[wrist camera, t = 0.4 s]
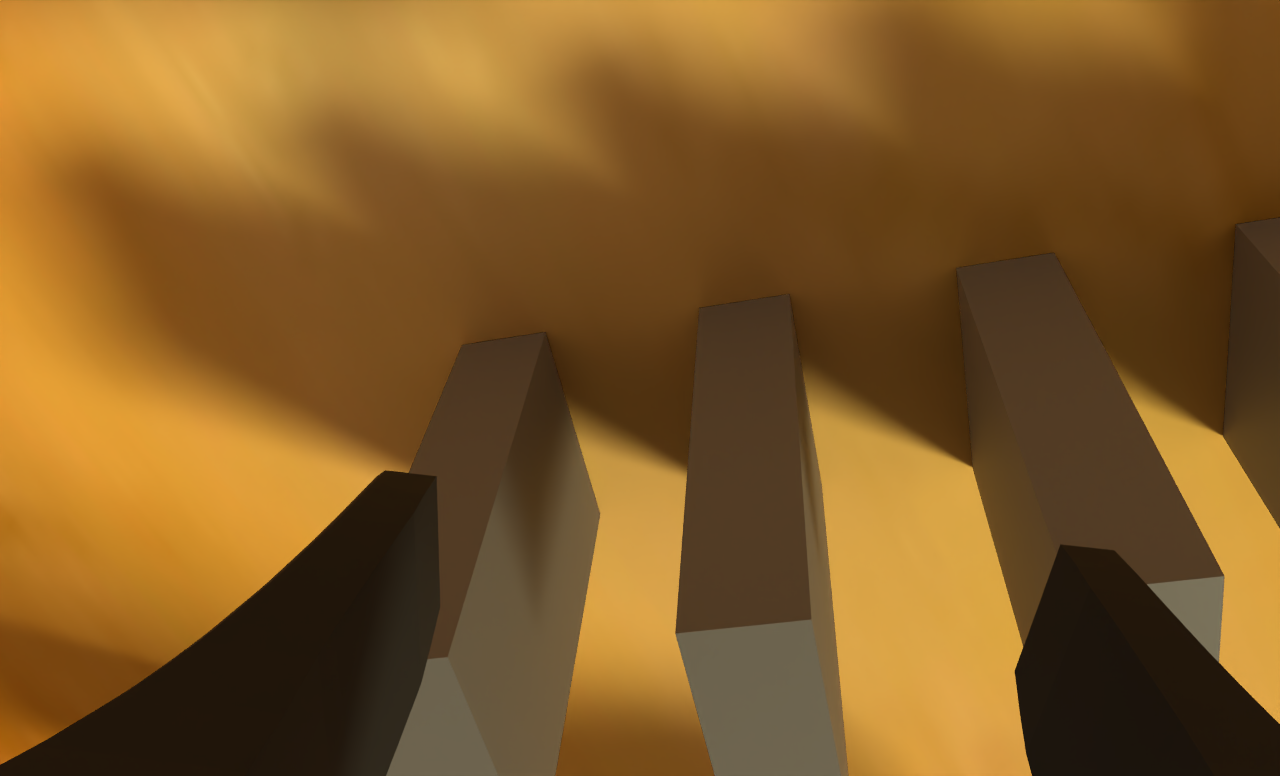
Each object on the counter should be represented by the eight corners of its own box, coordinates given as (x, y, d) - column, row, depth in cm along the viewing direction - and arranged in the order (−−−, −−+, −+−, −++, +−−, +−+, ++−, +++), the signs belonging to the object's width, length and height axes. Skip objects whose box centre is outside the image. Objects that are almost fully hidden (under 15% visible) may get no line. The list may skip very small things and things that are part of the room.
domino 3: (1054, 252, 21) (1224, 576, 14) (1060, 457, 24) (1207, 826, 16) (956, 267, 22) (1070, 592, 14) (972, 467, 24) (1076, 835, 17)
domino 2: (789, 294, 22) (811, 619, 15) (822, 486, 25) (854, 849, 17) (699, 308, 23) (675, 634, 15) (740, 496, 25) (737, 857, 17)
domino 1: (545, 332, 23) (448, 657, 16) (600, 514, 26) (538, 870, 18) (461, 345, 23) (327, 669, 16) (523, 523, 26) (432, 878, 18)
